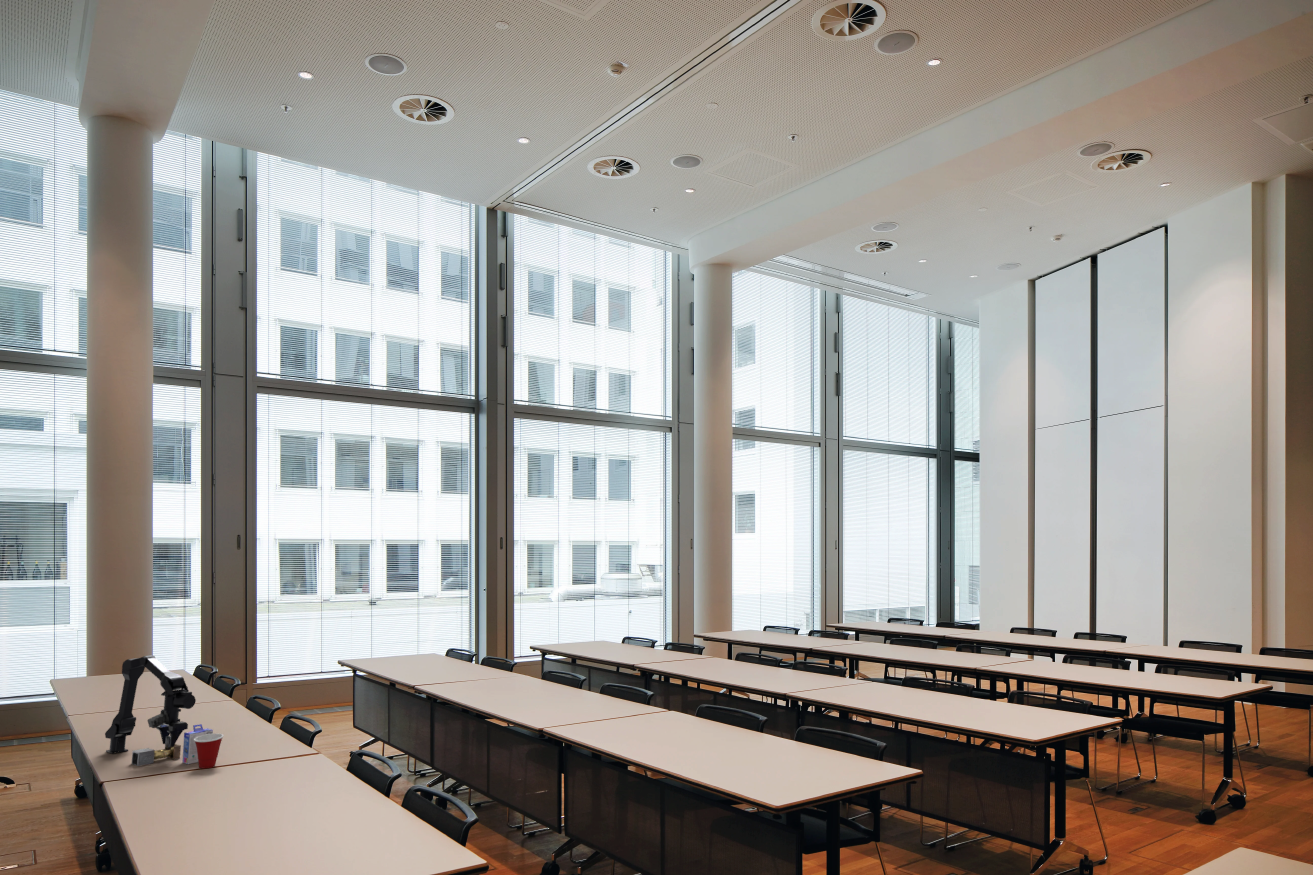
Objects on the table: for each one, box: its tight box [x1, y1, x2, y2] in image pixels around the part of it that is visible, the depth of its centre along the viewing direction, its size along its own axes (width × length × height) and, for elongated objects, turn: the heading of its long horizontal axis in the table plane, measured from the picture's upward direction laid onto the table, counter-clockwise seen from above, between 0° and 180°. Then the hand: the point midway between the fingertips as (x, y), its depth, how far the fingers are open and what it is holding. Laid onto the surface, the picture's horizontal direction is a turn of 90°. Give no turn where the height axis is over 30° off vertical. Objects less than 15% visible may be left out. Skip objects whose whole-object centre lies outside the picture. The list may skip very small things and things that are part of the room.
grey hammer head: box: [130, 747, 156, 767], centre depth 345 cm, size 6×6×5 cm
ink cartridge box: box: [182, 723, 214, 765], centre depth 350 cm, size 10×6×14 cm, turn 145°
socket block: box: [167, 743, 182, 760], centre depth 355 cm, size 2×6×5 cm, turn 55°
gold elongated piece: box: [154, 735, 174, 761], centre depth 351 cm, size 10×4×8 cm, turn 145°
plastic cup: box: [194, 732, 224, 769], centre depth 342 cm, size 11×11×12 cm
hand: (168, 745), depth 353 cm, fingers open, 6 cm apart
